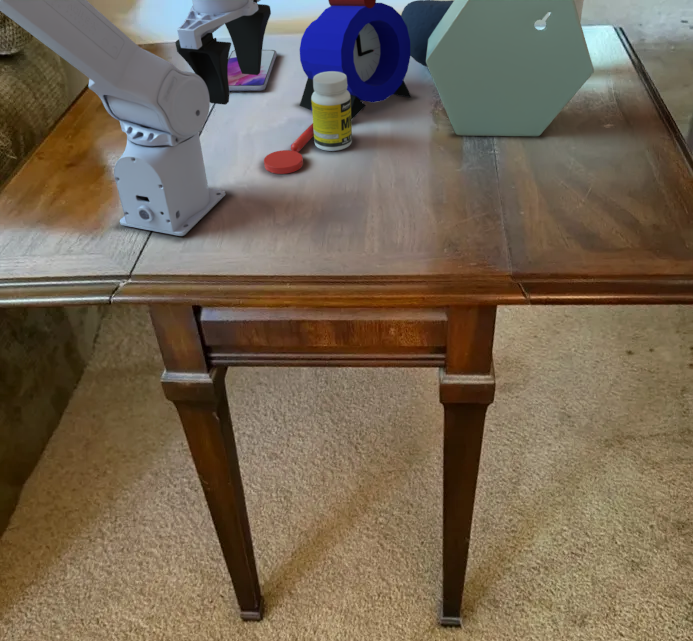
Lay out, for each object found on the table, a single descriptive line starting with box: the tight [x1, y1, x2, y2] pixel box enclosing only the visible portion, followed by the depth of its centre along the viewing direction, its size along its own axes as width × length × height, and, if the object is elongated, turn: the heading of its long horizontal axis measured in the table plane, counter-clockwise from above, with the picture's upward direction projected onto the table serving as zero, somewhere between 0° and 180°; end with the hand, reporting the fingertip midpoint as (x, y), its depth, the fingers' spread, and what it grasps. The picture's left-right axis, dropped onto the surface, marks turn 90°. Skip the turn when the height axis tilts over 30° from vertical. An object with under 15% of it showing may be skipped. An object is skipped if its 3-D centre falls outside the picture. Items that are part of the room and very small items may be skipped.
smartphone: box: [228, 49, 278, 92], centre depth 114 cm, size 7×1×15 cm
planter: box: [426, 0, 595, 137], centre depth 92 cm, size 17×8×21 cm
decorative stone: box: [400, 0, 454, 68], centre depth 110 cm, size 12×12×10 cm
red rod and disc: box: [263, 122, 314, 175], centre depth 94 cm, size 13×5×1 cm, turn 158°
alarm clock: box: [299, 0, 412, 121], centre depth 100 cm, size 12×12×15 cm
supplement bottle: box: [311, 71, 353, 152], centre depth 92 cm, size 5×5×8 cm
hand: (235, 87), depth 86 cm, fingers open, 7 cm apart
